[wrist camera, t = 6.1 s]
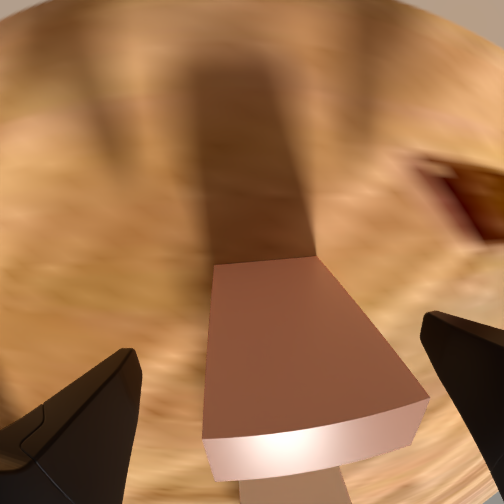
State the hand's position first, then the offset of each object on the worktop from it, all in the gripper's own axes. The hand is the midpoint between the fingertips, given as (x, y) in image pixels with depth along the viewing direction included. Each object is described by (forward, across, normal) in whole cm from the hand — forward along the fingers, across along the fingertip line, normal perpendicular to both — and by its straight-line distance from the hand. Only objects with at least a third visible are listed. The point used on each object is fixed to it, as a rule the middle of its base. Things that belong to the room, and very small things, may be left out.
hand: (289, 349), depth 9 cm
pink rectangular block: (+5, 0, 0) cm, 5 cm away
